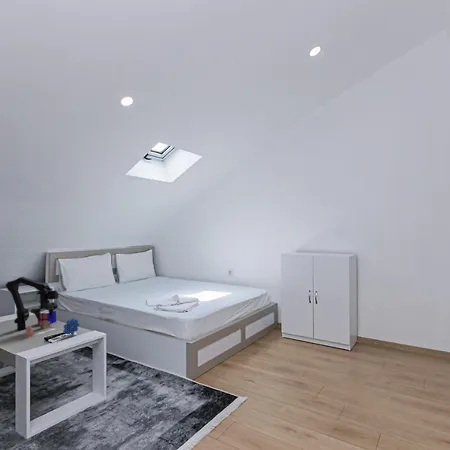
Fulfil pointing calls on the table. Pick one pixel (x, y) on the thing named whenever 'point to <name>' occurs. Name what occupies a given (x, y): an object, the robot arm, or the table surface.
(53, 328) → the board
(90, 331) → the table surface
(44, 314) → the puzzle cube
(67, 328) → the grapes
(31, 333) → the pawn
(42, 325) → the tan cardboard cube
